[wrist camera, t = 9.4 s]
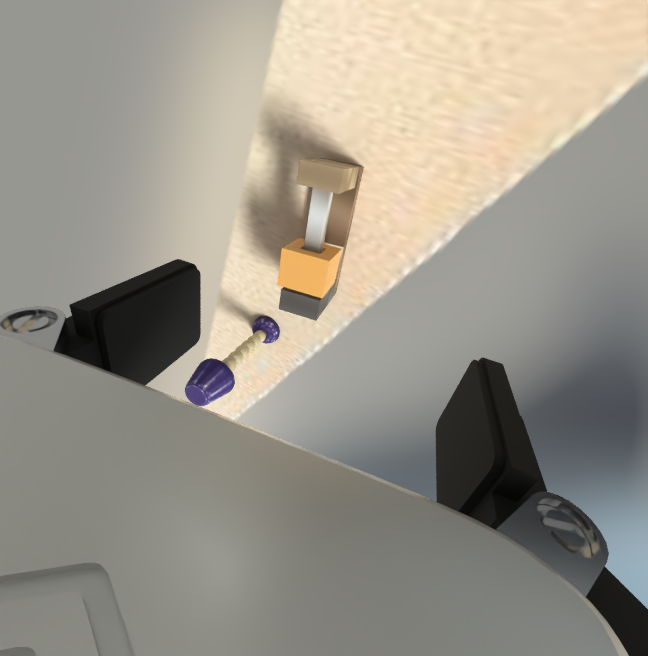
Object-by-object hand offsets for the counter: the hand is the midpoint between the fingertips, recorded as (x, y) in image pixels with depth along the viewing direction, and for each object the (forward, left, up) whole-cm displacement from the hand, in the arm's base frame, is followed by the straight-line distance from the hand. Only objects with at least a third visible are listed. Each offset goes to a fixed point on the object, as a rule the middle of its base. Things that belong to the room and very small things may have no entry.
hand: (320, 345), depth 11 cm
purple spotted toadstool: (+20, -14, -30) cm, 38 cm away
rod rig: (+4, -7, -30) cm, 31 cm away
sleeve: (+6, -7, -26) cm, 27 cm away
